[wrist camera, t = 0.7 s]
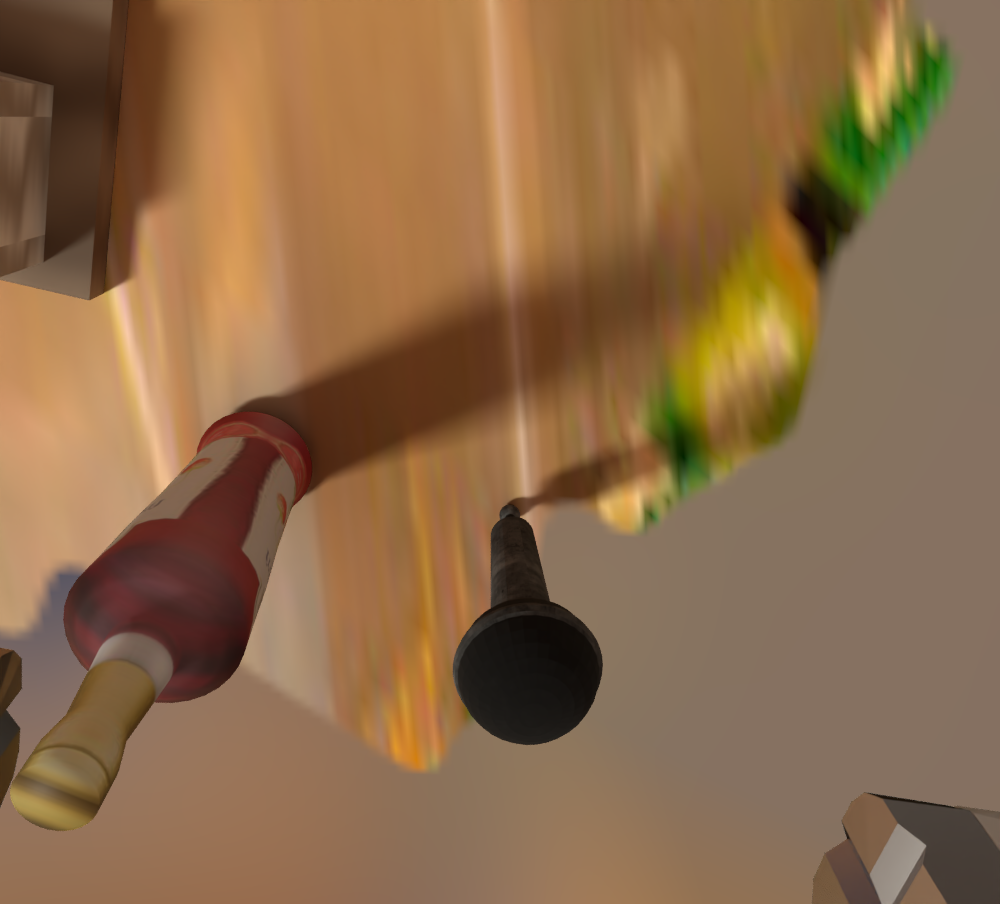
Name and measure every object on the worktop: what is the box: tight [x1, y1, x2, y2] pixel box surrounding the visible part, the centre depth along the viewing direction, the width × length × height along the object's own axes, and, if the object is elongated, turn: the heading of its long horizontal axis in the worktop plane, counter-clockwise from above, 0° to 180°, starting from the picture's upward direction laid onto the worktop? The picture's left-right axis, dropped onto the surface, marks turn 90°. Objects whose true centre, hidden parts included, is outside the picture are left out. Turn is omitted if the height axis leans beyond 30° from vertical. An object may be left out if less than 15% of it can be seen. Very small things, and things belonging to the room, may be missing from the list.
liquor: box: [10, 412, 312, 831], centre depth 39 cm, size 7×7×28 cm
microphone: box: [453, 505, 603, 745], centre depth 45 cm, size 7×7×20 cm
